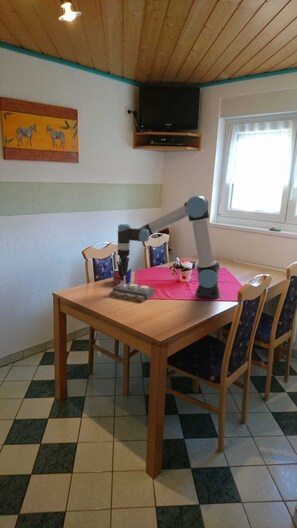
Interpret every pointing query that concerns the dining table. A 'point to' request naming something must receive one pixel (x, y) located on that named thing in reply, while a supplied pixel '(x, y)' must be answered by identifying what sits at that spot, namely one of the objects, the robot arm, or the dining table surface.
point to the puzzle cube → (117, 277)
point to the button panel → (135, 291)
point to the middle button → (133, 286)
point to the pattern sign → (127, 296)
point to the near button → (144, 288)
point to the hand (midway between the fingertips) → (122, 284)
